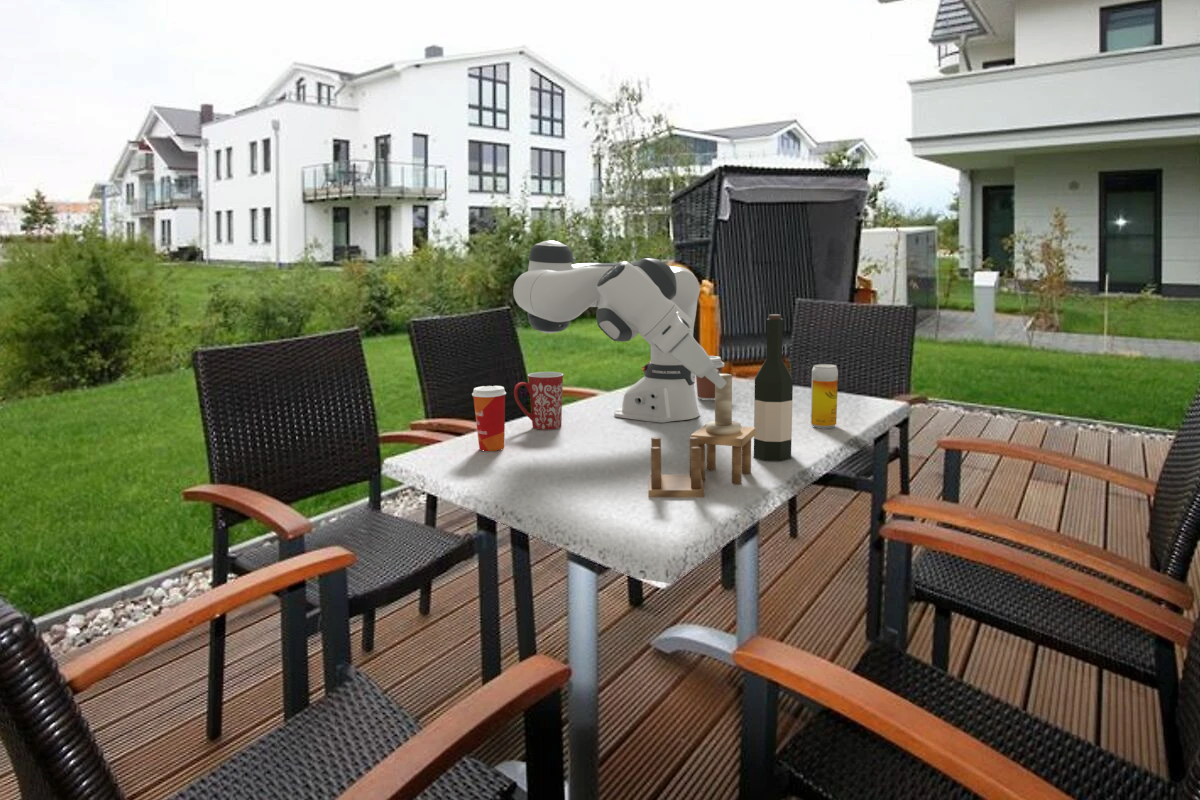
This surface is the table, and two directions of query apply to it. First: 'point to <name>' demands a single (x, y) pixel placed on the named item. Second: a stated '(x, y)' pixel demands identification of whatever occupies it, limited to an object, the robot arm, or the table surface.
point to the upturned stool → (676, 483)
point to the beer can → (824, 395)
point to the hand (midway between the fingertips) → (721, 381)
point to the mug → (543, 399)
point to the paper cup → (490, 416)
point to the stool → (739, 450)
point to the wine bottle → (773, 400)
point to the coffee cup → (708, 381)
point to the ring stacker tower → (723, 411)
